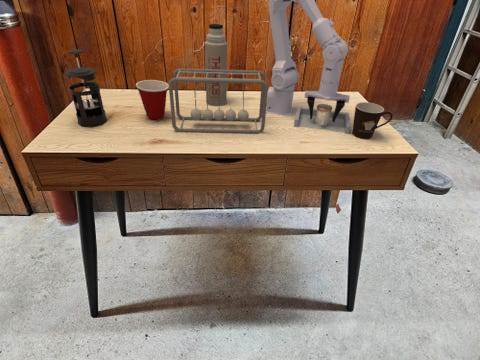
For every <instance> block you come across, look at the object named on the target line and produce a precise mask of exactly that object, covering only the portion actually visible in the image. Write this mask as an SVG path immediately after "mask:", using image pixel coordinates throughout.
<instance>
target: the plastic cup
mask: <svg viewBox="0 0 480 360" xmlns="http://www.w3.org/2000/svg"><path fill="white" fill-rule="evenodd" d="M135 88H137V91H138V93H139V94H138V95H139V96H140V99H141V102H142V106H143V110H144V112H145V114H146V117H147V119H148V120H150V121H156V122H157V121H161V120H163V119H164V118H165V114H166V103H167V94H168V91H169V82H168V83H167V82H165V81H162V80H156V79H145V80H140V81H138V82H136V84H135Z"/></svg>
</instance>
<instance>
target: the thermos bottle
mask: <svg viewBox="0 0 480 360" xmlns="http://www.w3.org/2000/svg"><path fill="white" fill-rule="evenodd" d="M208 28H209V29H208V34H206V41H205V42H204V59H205V60H204V61H205V63H204V64H205V65H204V66H205V68H204V69H220V70H228V42H227V41H226V35H225V34H224V30H223V28H224V25H223V24H220V23H211V24H208ZM207 74H208V78H219V74H210V73H205V77H206V76H207ZM227 75H228V74H220V78H228V76H227ZM227 84H228V83H220V98H219V83H210V82H208V106H212V107H221V106H225V105H226V104H227V103H228V102H227V100H228V99H227V96H228V85H227ZM205 94H206V95H205V98H206V99H205V100H206V103H207V91H206V90H205Z"/></svg>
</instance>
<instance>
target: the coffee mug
mask: <svg viewBox="0 0 480 360" xmlns="http://www.w3.org/2000/svg"><path fill="white" fill-rule="evenodd" d="M354 109H355V110H354V116H353V124H352V132H351V134H352V136H353V137H355V138H357V139H360V140H370V139H372V138H373V136H374V133H375V131H376V130H377V129H378V128H381V127H383V126H385V125H387V124H388V123H390V122H391V121H392V120H393V113H392V112H390V111H385V108H384V107H383V106H381V105H380V104H377V103H373V102H368V101H367V102H365V101H364V102H363V101H362V102H358V103H356V104H355V108H354ZM386 114H387V115H390V118H389V119H388V120H386V122H383V123H381V124H379V122H380V120H381V117H382V116H384V115H386ZM378 124H379V125H378ZM371 137H372V138H371Z"/></svg>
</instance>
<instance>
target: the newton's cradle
mask: <svg viewBox="0 0 480 360" xmlns="http://www.w3.org/2000/svg"><path fill="white" fill-rule="evenodd" d="M180 73H181V74H184V73H185V74H186V73H187V74H194V75H193V77H192V76H191V77H189V76H179V75H180ZM206 73H210V74H219V78H208V74H207V76H206V75H205V77H196V74H206ZM220 74H227V75H230V78H229V77H227V78H220ZM232 75H242V78H233V77H232ZM244 75H246V76H247V75H248V76H249V75H253V76H254V75H255V76H258V78H245V76H244ZM172 76H173V78H170V80H169V81H168V84H169V88H168V93H169V103H170V104H169V105H170V114H171V124H172V125H171V126H172V128H173V130H174V131H176V132H179V133H209V134H210V133H212V134H213V133H214V134H216V133H217V134H255V135H256V134H261V133H262V132H263V131H264V130H265V127H266V126H265V125H266V115H267V113H266V105H267V96H268V90H269V85H268V83H267V82H266V74H265V73H264V72H263V71H262V70H253V69H252V70H250V69H247V70H246V69H227V70H220V69H205V68H183V67H182V68H179V67H178V68H175V70H174V71H173V75H172ZM178 82H180V83H183V82H184V83H194V86H193V91H194V97H197V89H196V88H197V85H196V83H205V92H206V91H207V102H206V107H207V108H205V109H203V111H201V110H200V109H199V108H197V100H194V104H195V105H194V106H195V108H193V109H191V110H190V116H182V115H181V112H180V100H179V87H178ZM208 82H210V83H219V98H220V83H227V84H230V87H232V86H233V85H232V84H242V109H241V110H239V111H238V112H236V111H235V110H234V109H232V108H230V109H228V110H226V111H224V110H223V109H221V108H218V109H215V111H214V112H213V110H212V109H210V108H209V104H208ZM245 84H251V85H253V84H255V85H261V86H260V87H261V88H260V99H259V100H260V102H259V114H258V117H249V116H250V113H249V112H248V111H247V109H245V108H244V105H245V102H244V101H245ZM173 87H174V89H173ZM176 116H177V118H179V120H182V121H181V124H180V127H178V126H177V124H176V122H177V121H176ZM184 121H215V122H217V121H219V122H220V121H225V122H254V123H255V129H223V128H222V129H217V128H215V129H212V128H182V127H183V123H184ZM259 121H261V125H260V128H259V129H258V126H257V122H259Z"/></svg>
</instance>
